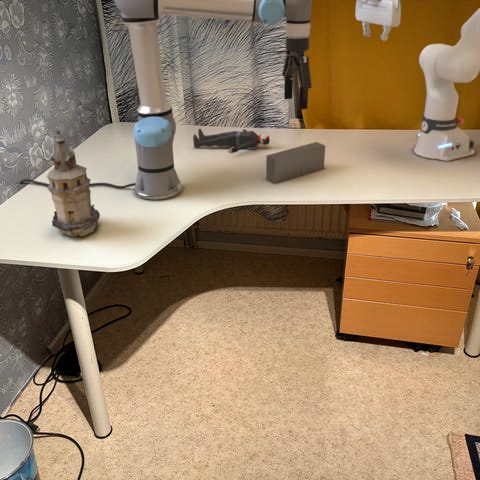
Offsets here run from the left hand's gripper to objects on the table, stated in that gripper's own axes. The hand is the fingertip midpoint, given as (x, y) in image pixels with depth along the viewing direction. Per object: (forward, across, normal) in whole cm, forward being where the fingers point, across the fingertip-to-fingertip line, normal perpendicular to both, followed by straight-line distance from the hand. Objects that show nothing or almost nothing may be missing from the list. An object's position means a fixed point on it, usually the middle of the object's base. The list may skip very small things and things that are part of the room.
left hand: (295, 103), depth 180 cm
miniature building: (+24, -22, +75) cm, 82 cm away
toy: (+24, +32, +14) cm, 42 cm away
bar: (+24, -2, 0) cm, 24 cm away
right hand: (-19, 0, -28) cm, 34 cm away
